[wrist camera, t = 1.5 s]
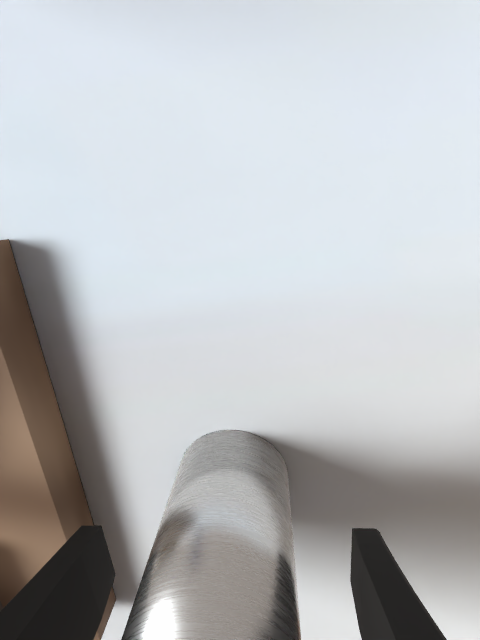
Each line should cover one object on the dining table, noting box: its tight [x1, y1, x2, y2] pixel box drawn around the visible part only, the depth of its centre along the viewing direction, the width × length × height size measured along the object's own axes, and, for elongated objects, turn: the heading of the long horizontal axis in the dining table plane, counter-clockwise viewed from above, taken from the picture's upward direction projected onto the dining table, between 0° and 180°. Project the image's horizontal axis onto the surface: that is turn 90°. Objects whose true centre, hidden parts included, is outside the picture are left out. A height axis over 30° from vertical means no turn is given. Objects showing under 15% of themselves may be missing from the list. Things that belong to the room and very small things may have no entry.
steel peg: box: [122, 430, 301, 640], centre depth 9 cm, size 4×4×6 cm
